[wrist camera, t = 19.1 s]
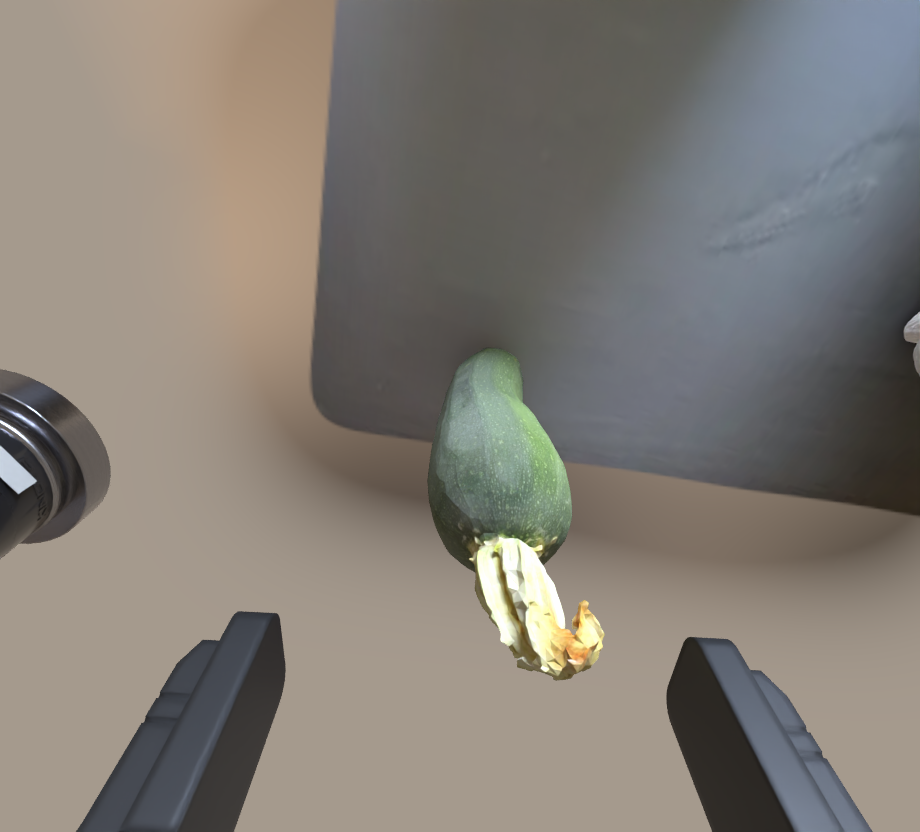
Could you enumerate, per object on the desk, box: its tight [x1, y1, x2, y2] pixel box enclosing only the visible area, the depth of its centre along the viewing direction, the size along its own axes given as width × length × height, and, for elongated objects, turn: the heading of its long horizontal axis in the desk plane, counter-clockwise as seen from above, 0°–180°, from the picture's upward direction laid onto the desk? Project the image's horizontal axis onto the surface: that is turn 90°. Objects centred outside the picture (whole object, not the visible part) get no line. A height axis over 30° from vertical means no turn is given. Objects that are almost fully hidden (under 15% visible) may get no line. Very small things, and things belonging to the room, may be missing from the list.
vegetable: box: [428, 348, 605, 680], centre depth 19 cm, size 4×4×20 cm
